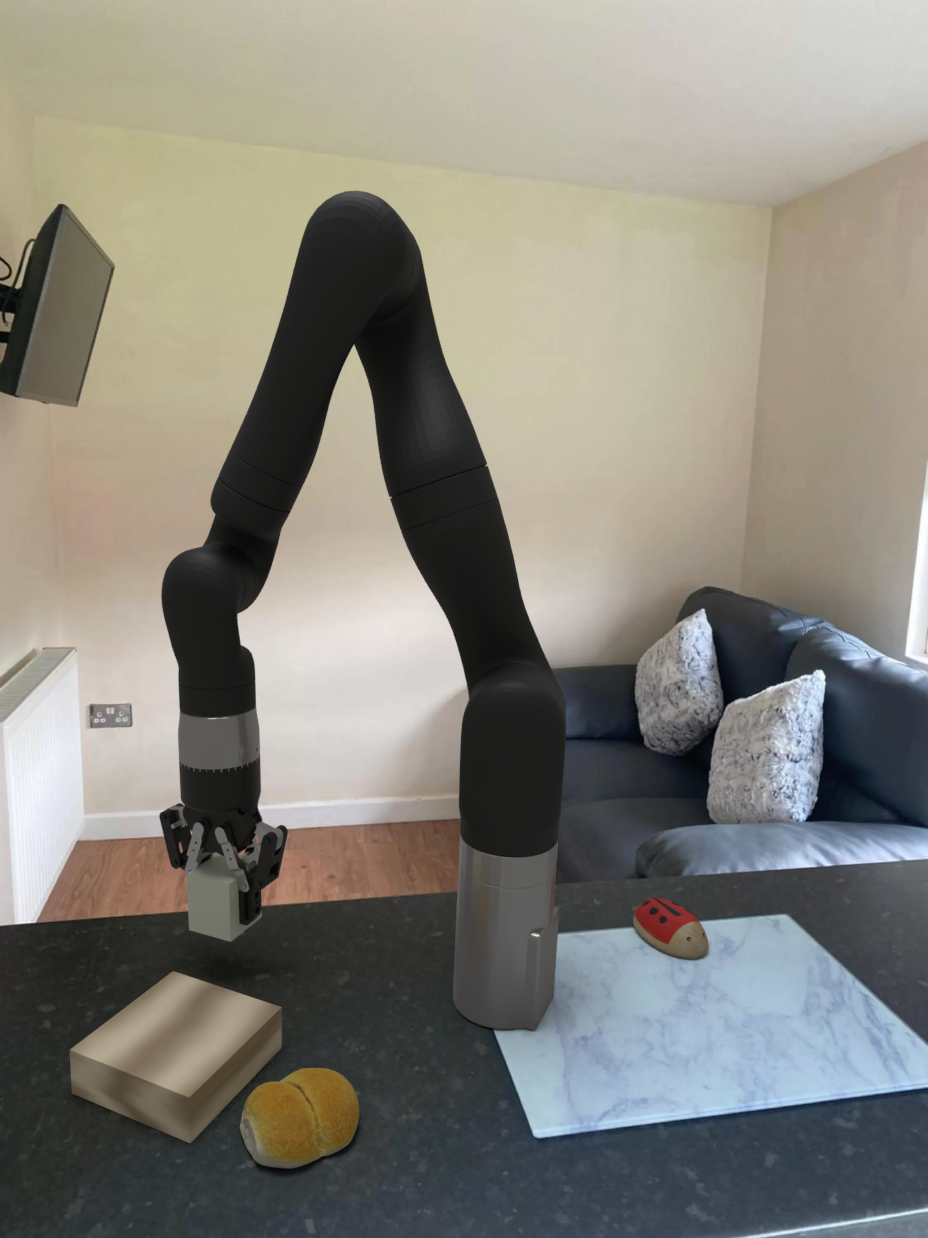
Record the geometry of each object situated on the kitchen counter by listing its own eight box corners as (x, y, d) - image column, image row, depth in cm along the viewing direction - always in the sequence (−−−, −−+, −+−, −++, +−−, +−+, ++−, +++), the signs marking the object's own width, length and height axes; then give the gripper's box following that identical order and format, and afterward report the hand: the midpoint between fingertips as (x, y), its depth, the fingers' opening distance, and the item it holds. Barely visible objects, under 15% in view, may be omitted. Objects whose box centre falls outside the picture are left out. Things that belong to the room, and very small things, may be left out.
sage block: (261, 917, 88) (260, 862, 87) (230, 942, 84) (228, 884, 82) (221, 906, 90) (219, 852, 89) (189, 930, 86) (186, 873, 84)
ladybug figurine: (679, 970, 92) (682, 939, 91) (615, 925, 100) (618, 897, 99) (722, 952, 95) (726, 923, 95) (658, 911, 104) (660, 883, 103)
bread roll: (376, 1141, 67) (377, 1096, 67) (265, 1191, 63) (265, 1143, 62) (331, 1076, 74) (331, 1034, 73) (228, 1116, 69) (227, 1072, 69)
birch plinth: (281, 1047, 77) (281, 1007, 76) (190, 1143, 66) (189, 1097, 65) (174, 1009, 82) (173, 971, 81) (71, 1093, 71) (69, 1050, 70)
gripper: (305, 751, 84) (307, 913, 87) (186, 730, 90) (193, 883, 93) (258, 777, 77) (262, 951, 81) (133, 753, 83) (142, 917, 86)
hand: (225, 914), depth 87 cm, fingers closed on sage block, 5 cm apart
